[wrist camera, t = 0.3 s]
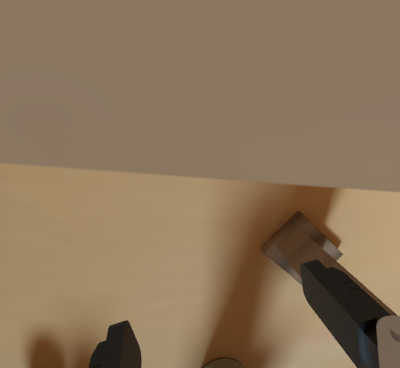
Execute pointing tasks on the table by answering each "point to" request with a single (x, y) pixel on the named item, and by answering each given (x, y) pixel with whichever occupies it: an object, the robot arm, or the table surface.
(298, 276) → the walnut stand
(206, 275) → the table surface
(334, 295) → the robot arm
